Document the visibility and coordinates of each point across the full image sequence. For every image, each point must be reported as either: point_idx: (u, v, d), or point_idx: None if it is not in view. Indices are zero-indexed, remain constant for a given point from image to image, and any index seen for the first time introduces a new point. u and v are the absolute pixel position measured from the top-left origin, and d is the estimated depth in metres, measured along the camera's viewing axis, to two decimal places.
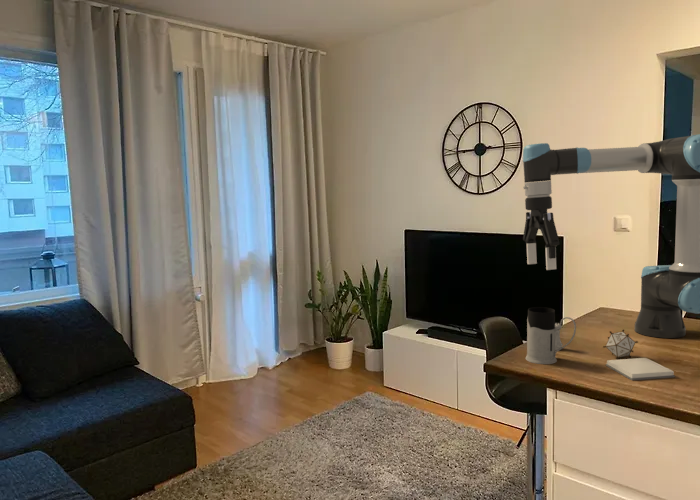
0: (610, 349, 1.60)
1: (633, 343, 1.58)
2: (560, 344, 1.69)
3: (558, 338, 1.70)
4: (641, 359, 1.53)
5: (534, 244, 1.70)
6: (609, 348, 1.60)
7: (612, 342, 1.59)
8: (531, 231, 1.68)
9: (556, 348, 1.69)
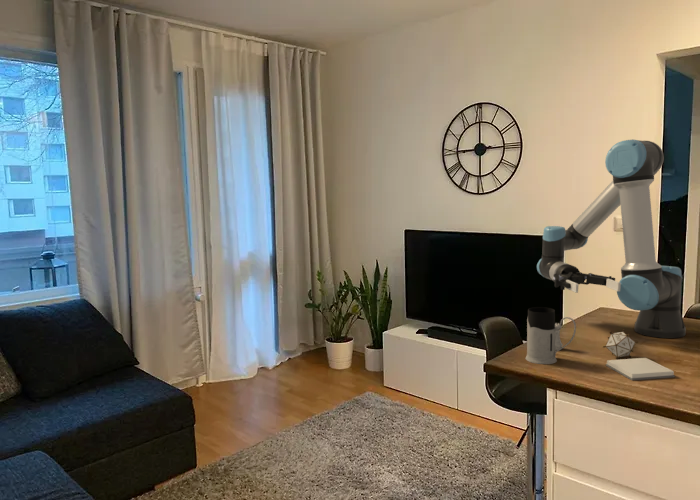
0: (610, 349, 1.60)
1: (633, 343, 1.58)
2: (560, 344, 1.69)
3: (558, 337, 1.70)
4: (641, 359, 1.53)
5: (607, 280, 1.76)
6: (609, 348, 1.60)
7: (612, 342, 1.59)
8: (592, 282, 1.80)
9: (556, 348, 1.69)
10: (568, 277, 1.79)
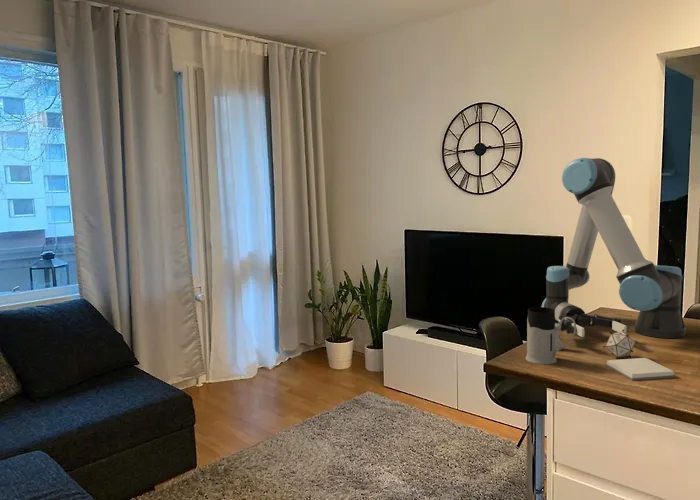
0: (610, 349, 1.60)
1: (633, 343, 1.58)
2: (560, 344, 1.69)
3: (558, 338, 1.70)
4: (641, 359, 1.53)
5: (612, 322, 1.74)
6: (609, 348, 1.60)
7: (612, 342, 1.59)
8: (598, 325, 1.78)
9: (556, 348, 1.69)
10: None
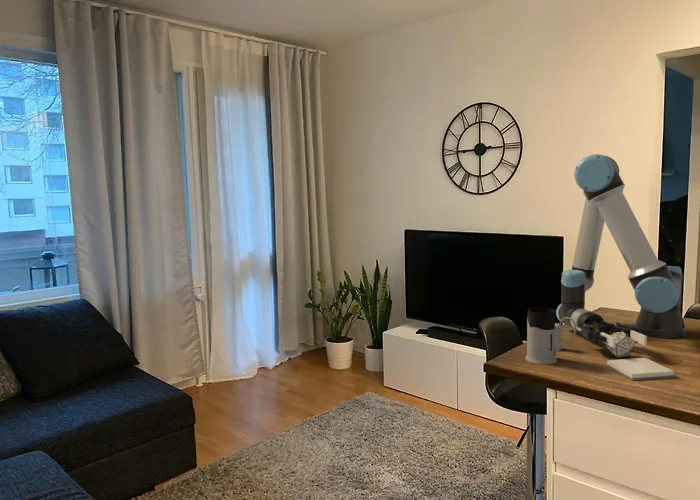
0: (610, 349, 1.60)
1: (633, 343, 1.58)
2: (560, 344, 1.69)
3: (558, 338, 1.70)
4: (641, 359, 1.53)
5: (631, 332, 1.62)
6: (609, 348, 1.60)
7: None
8: None
9: (556, 348, 1.69)
10: (597, 328, 1.66)
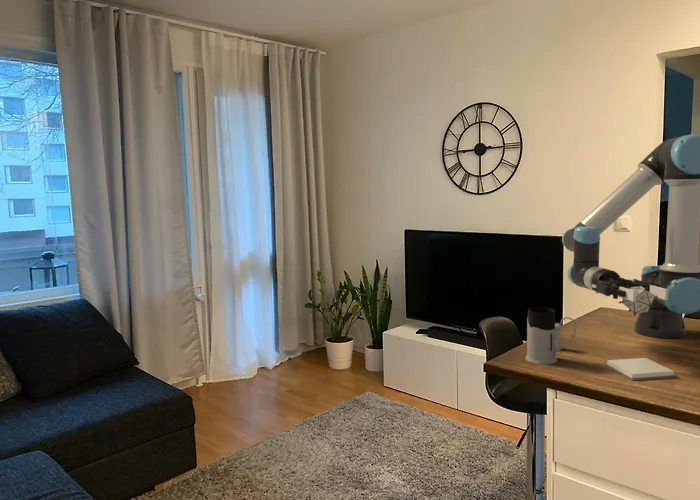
0: (627, 304, 1.46)
1: (652, 298, 1.45)
2: (560, 344, 1.69)
3: (558, 338, 1.70)
4: (641, 359, 1.53)
5: (650, 287, 1.48)
6: (626, 303, 1.46)
7: None
8: None
9: (556, 348, 1.69)
10: (614, 284, 1.53)
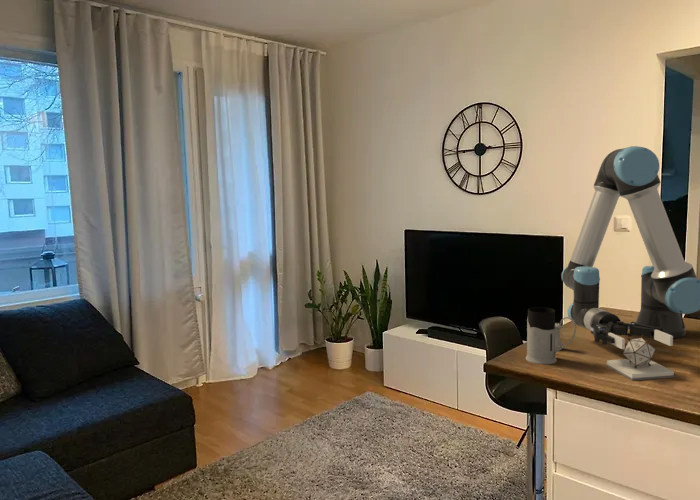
0: (628, 357, 1.47)
1: (653, 350, 1.46)
2: (560, 344, 1.69)
3: (558, 338, 1.70)
4: None
5: (655, 331, 1.51)
6: (627, 356, 1.48)
7: (630, 349, 1.47)
8: (637, 334, 1.55)
9: (556, 348, 1.69)
10: (609, 328, 1.54)
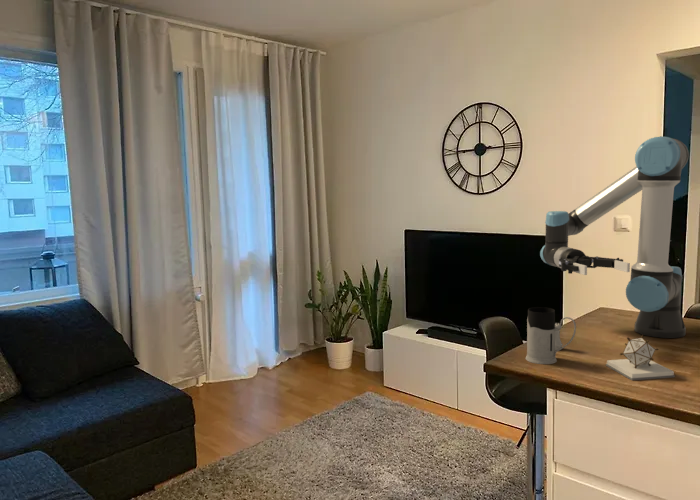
0: (628, 357, 1.47)
1: (653, 350, 1.46)
2: (560, 344, 1.69)
3: (558, 338, 1.70)
4: None
5: (615, 262, 1.69)
6: (627, 356, 1.48)
7: (630, 349, 1.47)
8: (600, 265, 1.73)
9: (556, 348, 1.69)
10: (575, 261, 1.72)
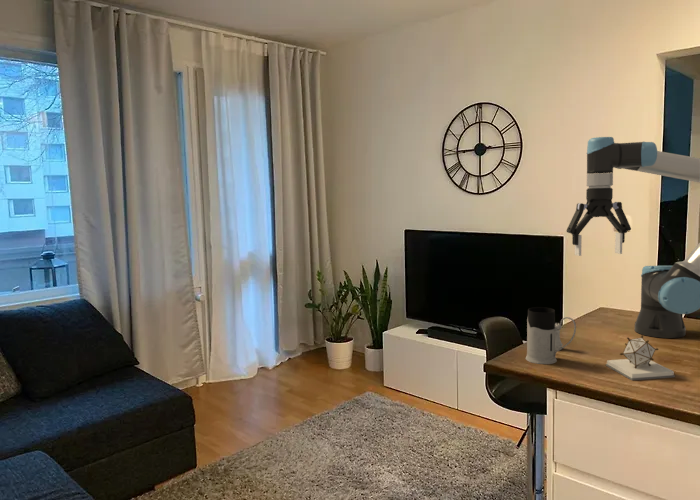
0: (628, 357, 1.47)
1: (653, 350, 1.46)
2: (560, 344, 1.69)
3: (558, 338, 1.70)
4: None
5: (619, 234, 1.72)
6: (627, 356, 1.48)
7: (630, 349, 1.47)
8: (609, 220, 1.73)
9: (556, 348, 1.69)
10: (588, 221, 1.71)
